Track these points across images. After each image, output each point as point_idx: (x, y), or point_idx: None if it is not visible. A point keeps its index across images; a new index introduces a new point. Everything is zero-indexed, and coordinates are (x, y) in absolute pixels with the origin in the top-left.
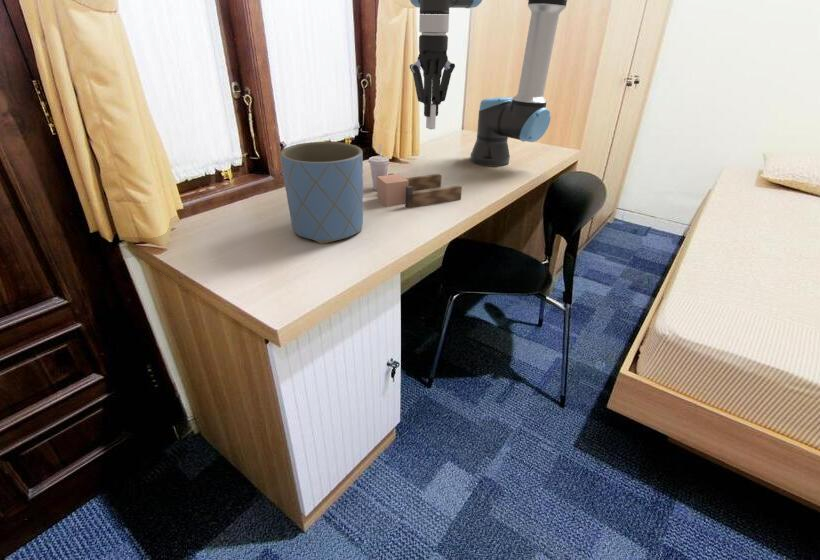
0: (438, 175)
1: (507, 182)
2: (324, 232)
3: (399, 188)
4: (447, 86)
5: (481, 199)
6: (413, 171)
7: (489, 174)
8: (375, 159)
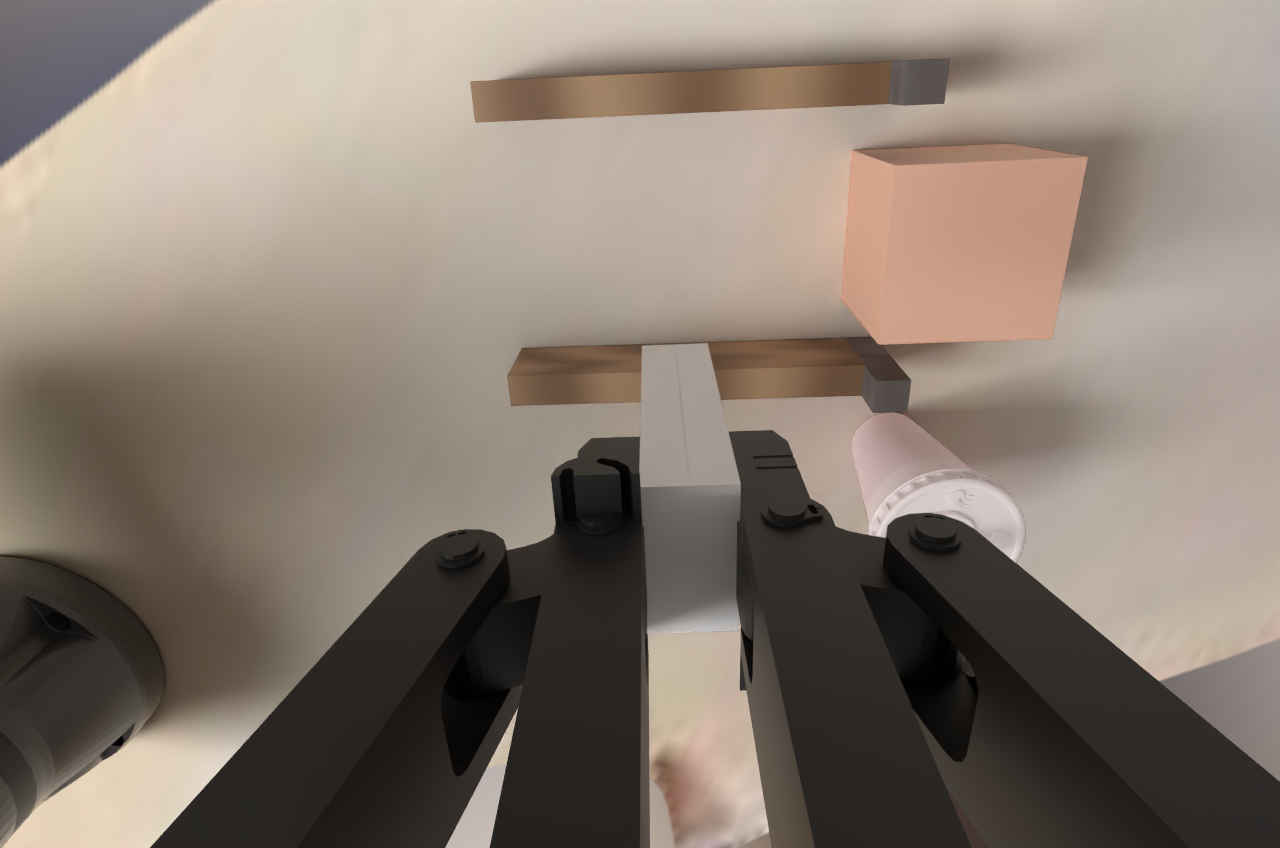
0: (529, 374)
1: (47, 274)
2: None
3: (955, 156)
4: (258, 754)
5: (348, 26)
6: None
7: (123, 449)
8: None
